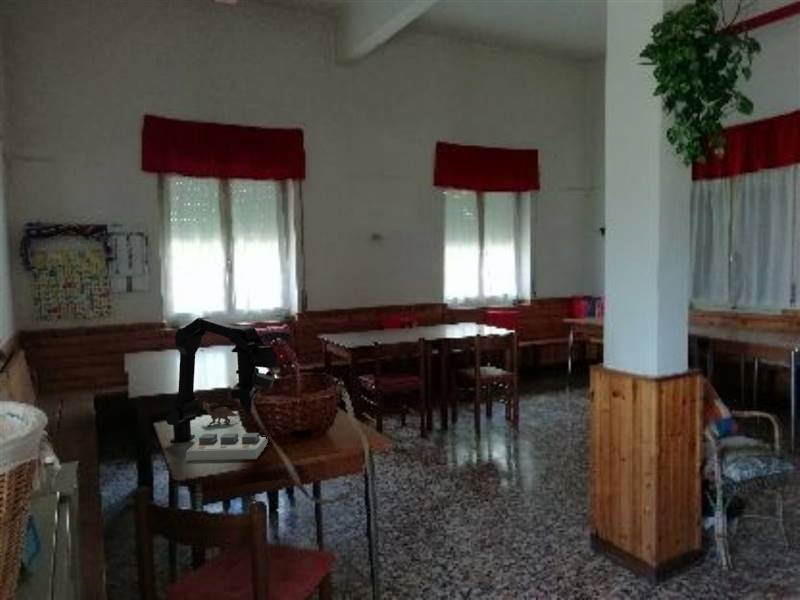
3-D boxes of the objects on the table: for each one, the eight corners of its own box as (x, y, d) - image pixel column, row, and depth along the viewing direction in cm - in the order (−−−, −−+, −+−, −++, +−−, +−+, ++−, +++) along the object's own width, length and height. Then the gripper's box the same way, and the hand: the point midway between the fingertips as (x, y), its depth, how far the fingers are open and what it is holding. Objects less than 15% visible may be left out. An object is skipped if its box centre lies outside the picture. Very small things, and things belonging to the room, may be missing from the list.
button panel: (202, 446, 204) (202, 436, 204) (267, 444, 203) (267, 434, 203) (186, 460, 190) (186, 449, 190) (256, 458, 189) (256, 448, 189)
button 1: (204, 441, 200) (203, 434, 200) (217, 441, 200) (216, 433, 200) (199, 445, 196) (198, 438, 196) (212, 445, 196) (212, 437, 196)
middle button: (225, 441, 200) (224, 433, 200) (238, 440, 200) (237, 433, 200) (220, 445, 196) (220, 437, 196) (234, 444, 196) (233, 437, 196)
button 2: (246, 440, 200) (245, 433, 200) (259, 440, 200) (259, 432, 200) (242, 444, 196) (241, 437, 195) (255, 444, 195) (255, 436, 195)
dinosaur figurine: (199, 427, 228) (198, 402, 227) (203, 422, 233) (202, 399, 233) (237, 425, 229) (235, 400, 228) (239, 420, 234) (238, 397, 234)
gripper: (264, 371, 186) (266, 421, 187) (278, 360, 205) (280, 405, 206) (228, 372, 187) (230, 421, 188) (245, 361, 205) (247, 406, 206)
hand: (249, 413), depth 197 cm, fingers closed
